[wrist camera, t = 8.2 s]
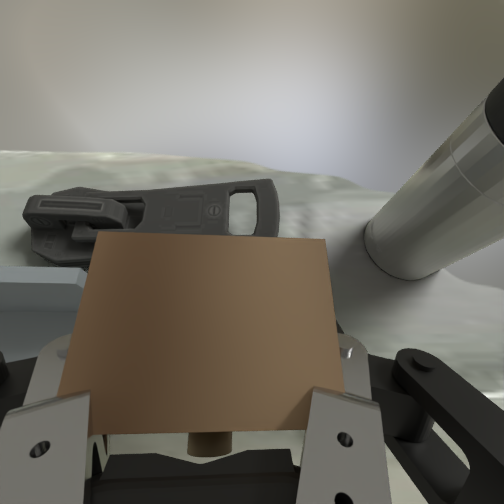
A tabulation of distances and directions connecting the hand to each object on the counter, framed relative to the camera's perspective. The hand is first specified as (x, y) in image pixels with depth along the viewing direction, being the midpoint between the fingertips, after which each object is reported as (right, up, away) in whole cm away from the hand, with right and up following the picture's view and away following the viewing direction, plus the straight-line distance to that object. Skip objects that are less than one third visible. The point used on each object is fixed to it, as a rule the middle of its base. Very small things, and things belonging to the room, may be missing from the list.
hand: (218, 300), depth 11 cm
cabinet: (0, -4, +3) cm, 5 cm away
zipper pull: (-9, +4, +20) cm, 22 cm away
